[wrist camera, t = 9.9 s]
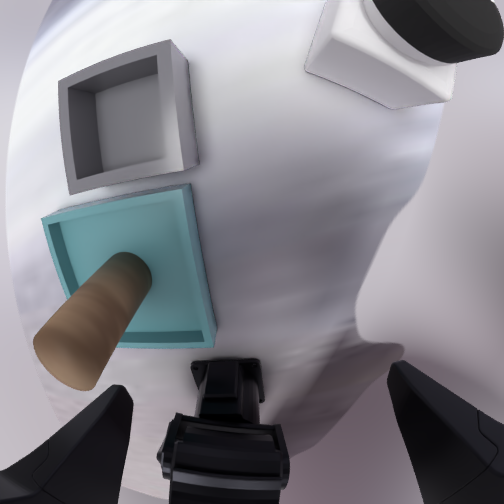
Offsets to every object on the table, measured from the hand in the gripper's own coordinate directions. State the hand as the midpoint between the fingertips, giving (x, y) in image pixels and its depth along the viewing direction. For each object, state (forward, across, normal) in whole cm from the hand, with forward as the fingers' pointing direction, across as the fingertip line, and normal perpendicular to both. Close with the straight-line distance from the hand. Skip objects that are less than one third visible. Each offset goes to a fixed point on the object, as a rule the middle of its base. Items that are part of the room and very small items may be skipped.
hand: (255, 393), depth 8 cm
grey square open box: (+13, +7, -10) cm, 18 cm away
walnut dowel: (+12, +10, +1) cm, 15 cm away
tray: (+13, +10, +1) cm, 16 cm away
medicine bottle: (+13, -10, -14) cm, 21 cm away
